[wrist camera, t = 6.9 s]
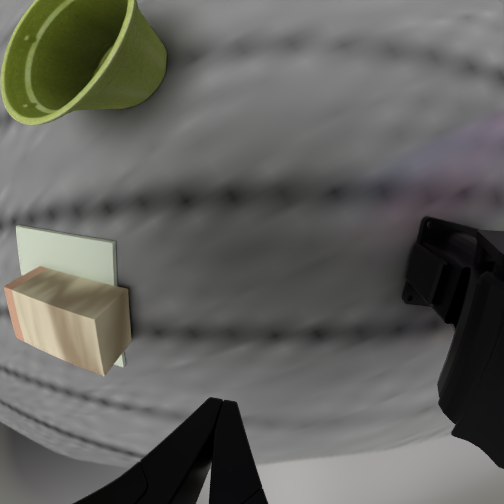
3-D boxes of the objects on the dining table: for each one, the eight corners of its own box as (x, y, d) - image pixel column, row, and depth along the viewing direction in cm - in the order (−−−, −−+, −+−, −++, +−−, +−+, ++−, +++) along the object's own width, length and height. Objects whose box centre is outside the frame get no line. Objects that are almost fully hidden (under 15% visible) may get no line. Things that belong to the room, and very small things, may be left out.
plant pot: (62, 91, 18) (-16, 80, 10) (135, 0, 15) (75, -49, 7) (130, 156, 19) (47, 161, 11) (218, 52, 16) (175, -9, 8)
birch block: (94, 319, 17) (3, 286, 18) (104, 376, 19) (16, 337, 19) (128, 289, 22) (39, 266, 22) (131, 341, 23) (47, 313, 24)
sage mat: (115, 241, 21) (112, 243, 21) (125, 364, 25) (123, 367, 24) (19, 225, 22) (15, 226, 21) (36, 331, 26) (34, 333, 25)
